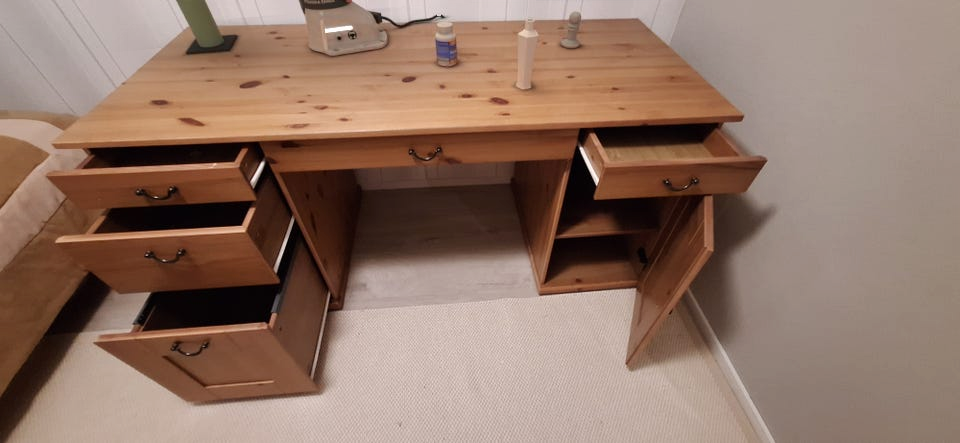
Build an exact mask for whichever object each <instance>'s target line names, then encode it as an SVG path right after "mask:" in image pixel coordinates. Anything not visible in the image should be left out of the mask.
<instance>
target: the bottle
mask: <svg viewBox="0 0 960 443" xmlns="http://www.w3.org/2000/svg"><path fill="white" fill-rule="evenodd" d="M175 2H176V4H177V6H178V8H179V10H180V11H181V13H182V15H183V17H184V18H185V21H186V22H187V25H188V27H189V28H190V30H191V32H192V34H193V36H194V38H195V39H196V40H197V42H198V44H199V46H201V47H213V46H217V45H220V44H222V43H223V42H224V40H223V37H222V33H221V31H220V29H219V27H218V24H217V23H216V21H215V20H216V19H215V18H214V17H213V14H212V12H211V10H210V7H209V6H208V3H207V1H206V0H175Z"/></svg>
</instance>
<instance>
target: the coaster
mask: <svg viewBox="0 0 960 443" xmlns="http://www.w3.org/2000/svg"><path fill="white" fill-rule="evenodd" d="M221 35H222V34H221ZM222 37H223V40H224V42H223V43H222V44H220V45H217V46H213V47H201V46H199V44H198V42H197V40H196V38H195V39H194V40H193V42H192V43H191V44H190V46H189V47H188V48H187V49H186V51H185V54H186V55H197V54H209V53H211V54H212V53H223V52H230V51H231V49H232V48H233V46H234V44H235V42H236V40H237V39H238V34H237V33H236V34H226V35H225V34H223V35H222Z"/></svg>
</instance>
